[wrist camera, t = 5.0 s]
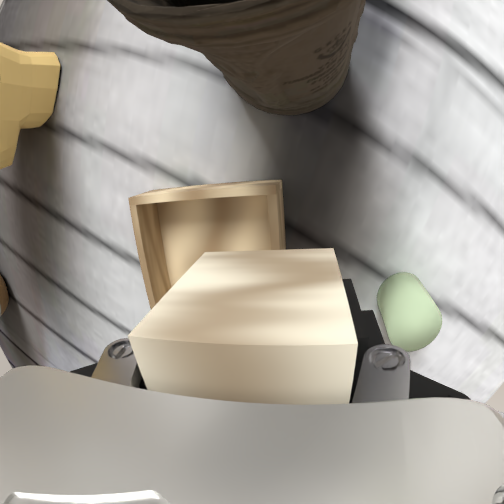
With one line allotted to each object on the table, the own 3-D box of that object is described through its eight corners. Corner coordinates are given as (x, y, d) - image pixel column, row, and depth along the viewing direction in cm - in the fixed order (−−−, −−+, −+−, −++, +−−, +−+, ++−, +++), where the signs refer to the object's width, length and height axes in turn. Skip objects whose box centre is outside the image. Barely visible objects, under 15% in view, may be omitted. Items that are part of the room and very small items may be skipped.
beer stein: (377, 55, 20) (434, -103, 2) (311, 144, 24) (253, 91, 6) (238, -13, 21) (132, -136, 2) (179, 65, 25) (9, 1, 6)
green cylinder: (425, 271, 26) (447, 300, 20) (418, 315, 27) (435, 349, 22) (379, 273, 27) (392, 303, 21) (374, 317, 28) (384, 353, 23)
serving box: (281, 179, 26) (275, 185, 22) (288, 310, 30) (283, 334, 26) (151, 190, 29) (128, 197, 25) (172, 305, 33) (155, 325, 29)
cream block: (333, 248, 11) (357, 343, 5) (329, 355, 13) (334, 468, 7) (204, 252, 12) (127, 335, 6) (221, 353, 13) (177, 455, 8)
